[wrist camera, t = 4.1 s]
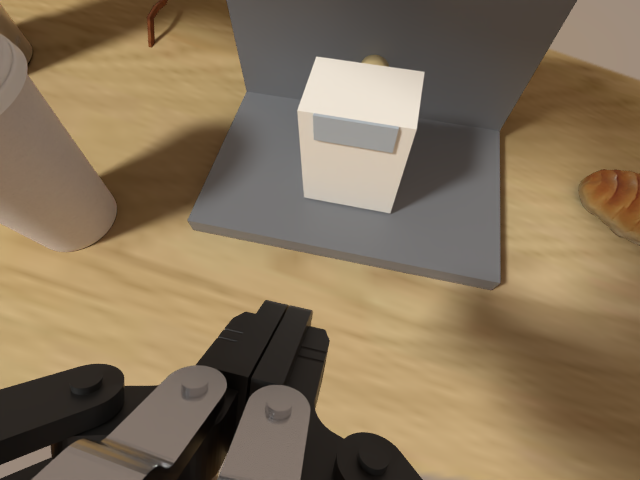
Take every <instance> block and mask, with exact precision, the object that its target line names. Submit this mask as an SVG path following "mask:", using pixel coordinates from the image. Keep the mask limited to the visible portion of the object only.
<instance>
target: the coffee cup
mask: <svg viewBox="0 0 640 480" xmlns="http://www.w3.org/2000/svg"><path fill="white" fill-rule="evenodd" d="M27 70H28V67H27V61H26V58H25V56H24V54H23V52H22V51H21V50H20V49H19V48H18V47H17V46H16V45H15V44H13V43H12V42H11V41H10V40H9V39H7V38H6V37H5V36H3V35H2V34H0V223H1V224H2V225H4V226H6V227H8V228H10V229H12V230H14V231H16V232H18V233H20V234H22V235H24V236H26V237H28V238H30V239H31V240H33V241H35V242H37V243H39V244H41V245H43V246H45V247H47V248H49V249H51V250H54V251H59V252H71V251H76V250H80V249H83V248H85V247H88V246H90V245H92V244H93V243H95V242H96V241H98V240H99V239H100V238H102V237H103V236H104V235H105V234H106V233H107V232H108V230H109V229H110V228H111V226H112V224H113V223H114V220H115V218H116V214H117V204H116V201H115V199H114V197H113V196H112V194H111V193H110V191H109V190H108V188H107V187H106V186H105V184H104V183H103V181H102V180H101V178H100V177H99V176H98V174H97V173H96V171H95V170H94V169H93V167H92V166H91V164H90V163H89V162H88V160H87V159H86V157H85V156H84V154H83V153H82V152H81V150H80V149H79V147H78V146H77V144H76V143H75V142H74V140H73V139H72V137H71V136H70V135H69V133H68V132H67V130H66V129H65V127H64V126H63V125H62V123H61V122H60V120H59V119H58V117H57V116H56V115H55V113H54V112H53V110H52V109H51V107H50V106H49V105H48V103H47V102H46V100H45V99H44V97H43V96H42V95H41V93H40V92H39V90H38V89H37V87H36V86H35V84H34V83H33V82H32V80H31V79H30V77H29V76H28V74H27Z"/></svg>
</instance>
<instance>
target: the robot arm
mask: <svg viewBox="0 0 640 480" xmlns="http://www.w3.org/2000/svg"><path fill="white" fill-rule="evenodd" d="M0 34H2V35H3V36H5V37H6V38H7V39H9V40H10V41H11V42H12V43H13V44H15V45H16V46H17V47H18V48H19V49H20V50H21V51H22V52H23V54H24V56H25V58H26V61H27V64H28V62H29V61H30V59H31V56H32V51H33V49H32V46H31V44H30V43H29V41H28V40H27V39H26V37H25V36H24V35H23V33H22V32H21V31H20V29H19V28H18V27H17V25H16V24H15V23H14V21H13V20H12V19H11V17H10V16H9V15H8V13H7V12H6V11H5V9H4V8H3V7H2V5H1V4H0ZM312 313H313V311H312V310H309V309H304V308H300V307H295V306H291V305H290V306H289V305H286V304H281V303H277V302H272V301H268V300H265V301H264V303H263V304H262V306H261V307H260V309H259V310H258V312H257V313H256V314H253V313H249V312H244V313H242V314H240V315H238V316H236V317H234V318H233V319H232V320H231V321H230V322H229V324H228V325H227V326H226V327H225V330H223V331H222V332H221V334H220V335H219V337H218V338H217V339H216V340H215V341H214V343H213V344H212V345H211V346H210V348H209V349H208V350H207V351H206V353H205V354H204V355H203V356H202V358H201V359H200V360H199V361H198V363H197V364H196V365H195V366H188V367H184V368H181V369H179V370H177V371H175V372H173V373H172V374H170V375H169V376H168V377H167V378H166V379H165V380H164V381H163V382H162V383H161V384H160V385H157V386H124V375H123V373H122V372H121V370H119V369H118V368H116V367H114V366H111V365H107V364H90V365H84V366H80V367H77V368H73V369H70V370H66V371H63V372H59V373H56V374H53V375H49V376H46V377H42V378H39V379H35V380H32V381H28V382H25V383H21V384H18V385H15V386H11V387H8V388H4V389H1V390H0V465H1V464H4V463H6V462H9V461H11V460H14V459H16V458H19V457H21V456H24V455H26V454H29V453H31V452H34V451H37V450H39V449H41V448H44V447H47V446H49V445H51V454H52V458H49V459H47V460H44V461H42V462H39V463H37V464H35V465H32V466H30V467H27V468H25V469H22V470H20V471H18V472H15V473H13V474H10V475H8V476H6V477H3V478H1V479H0V480H422V478H421V477H420V476H419V475H418V473H417V472H416V471H415V470H414V468H413V467H412V466H411V465H410V463H409V462H408V461H407V460H406V458H405V457H404V456H403V454H402V453H401V452H400V451H399V450H398V449H397V447H396V446H395V445H393V444H392V443H391V442H390V441H388V440H387V439H385V438H383V437H381V436H379V435H376V434H372V433H365V432H361V433H355V434H352V435H349V436H347V437H346V438H345V439H343V438H342V437H340V436H338V435H336V434H335V433H333V432H332V431H330V430H329V429H328V428H326V427H325V426H324V425H323V424H322V422H321V421H320V420H319V418H318V416H317V414H316V411H315V408H316V404H317V399H318V395H319V391H320V387H321V383H322V378H323V372H324V367H325V362H326V357H327V352H328V346H329V338H328V336H327V333H326V331H325V330H324V329H319V328H315V327H311V320H312ZM227 453H228V454H227ZM226 455H227V456H226ZM225 457H226V459H225ZM224 459H225V462H224V464H223V467H222V469H221V472H220V475H219V477H218V474H219V469H220V468H221V465H222V463H223V461H224Z"/></svg>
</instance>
